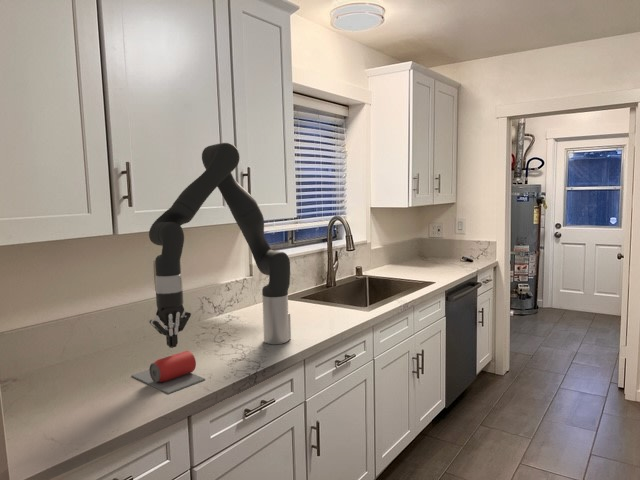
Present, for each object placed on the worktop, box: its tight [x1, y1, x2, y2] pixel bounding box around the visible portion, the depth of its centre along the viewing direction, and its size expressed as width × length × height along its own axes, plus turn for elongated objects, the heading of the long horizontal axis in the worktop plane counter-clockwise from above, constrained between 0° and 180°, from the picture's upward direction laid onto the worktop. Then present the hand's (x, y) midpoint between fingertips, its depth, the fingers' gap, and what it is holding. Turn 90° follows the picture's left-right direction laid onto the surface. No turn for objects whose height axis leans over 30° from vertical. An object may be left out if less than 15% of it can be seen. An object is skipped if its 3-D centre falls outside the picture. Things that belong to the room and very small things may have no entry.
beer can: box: [148, 350, 197, 382], centre depth 136 cm, size 7×7×12 cm
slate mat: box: [131, 369, 206, 395], centre depth 136 cm, size 12×20×1 cm, turn 50°
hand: (172, 346), depth 137 cm, fingers closed
